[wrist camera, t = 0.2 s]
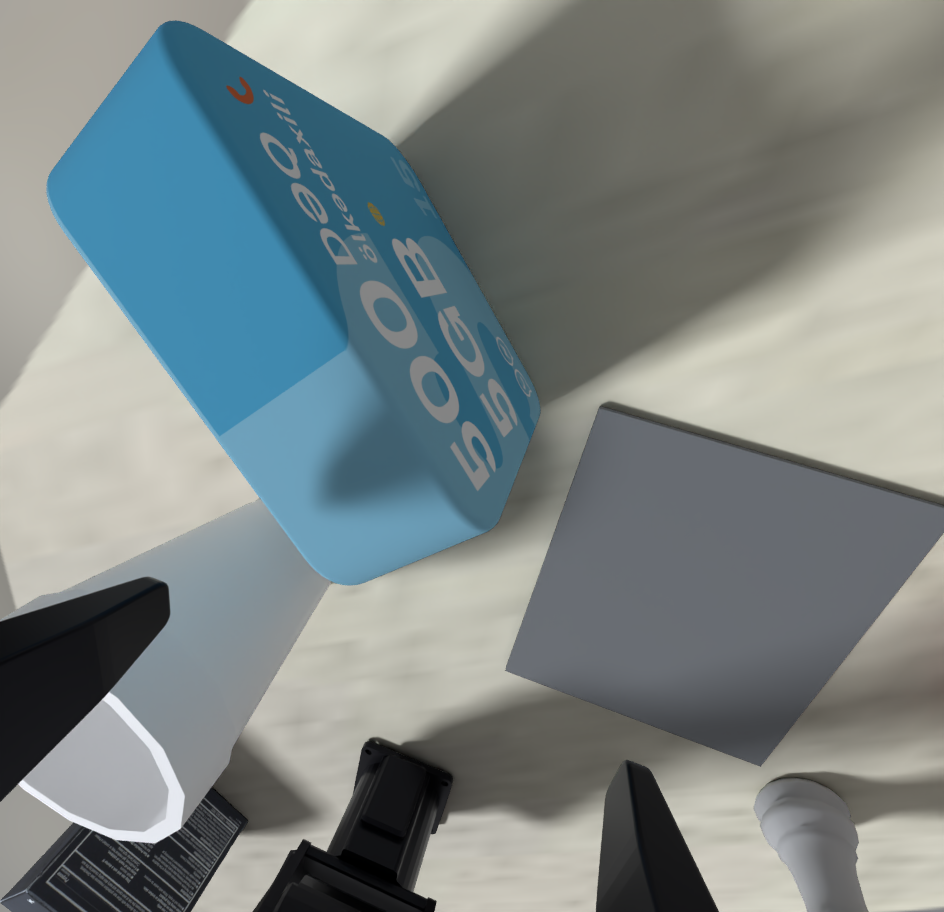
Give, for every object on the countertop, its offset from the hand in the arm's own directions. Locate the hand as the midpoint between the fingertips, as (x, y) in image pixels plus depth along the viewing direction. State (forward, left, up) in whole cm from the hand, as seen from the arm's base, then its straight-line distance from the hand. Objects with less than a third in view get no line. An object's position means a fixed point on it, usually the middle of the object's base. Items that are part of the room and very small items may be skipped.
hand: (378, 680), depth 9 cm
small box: (-41, +19, -15) cm, 47 cm away
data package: (+4, +5, -15) cm, 16 cm away
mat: (-6, -10, -15) cm, 19 cm away
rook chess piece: (-16, -20, -15) cm, 30 cm away
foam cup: (-11, +11, -15) cm, 21 cm away
